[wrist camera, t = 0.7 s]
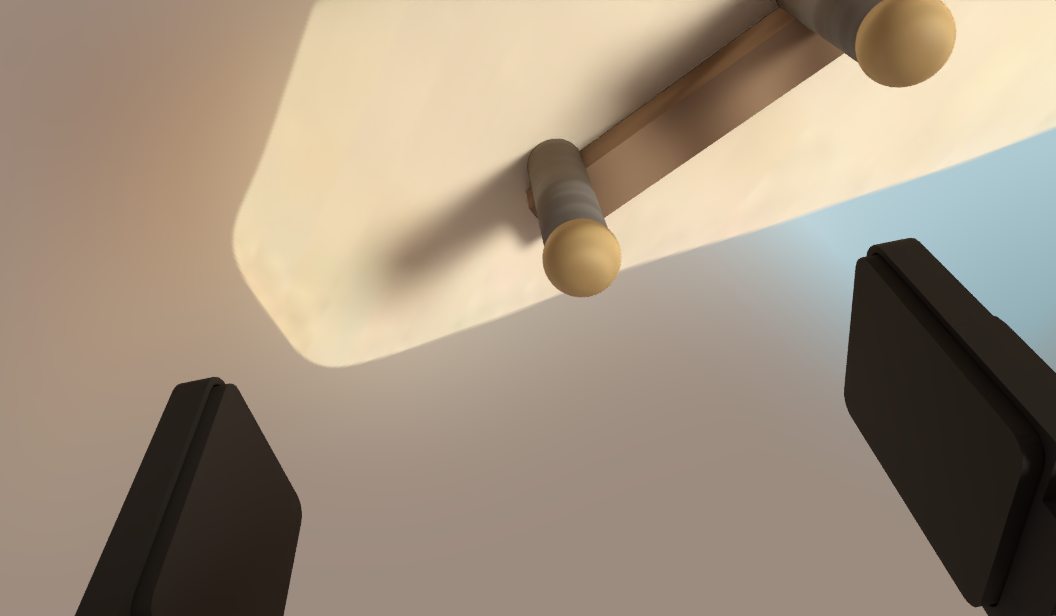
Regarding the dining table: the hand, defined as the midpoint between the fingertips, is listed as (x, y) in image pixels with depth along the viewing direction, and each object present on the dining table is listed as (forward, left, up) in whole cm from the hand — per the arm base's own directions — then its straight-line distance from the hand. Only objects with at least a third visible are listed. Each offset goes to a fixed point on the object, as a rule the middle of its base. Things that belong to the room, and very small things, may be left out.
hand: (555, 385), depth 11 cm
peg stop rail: (-5, +9, -26) cm, 28 cm away
